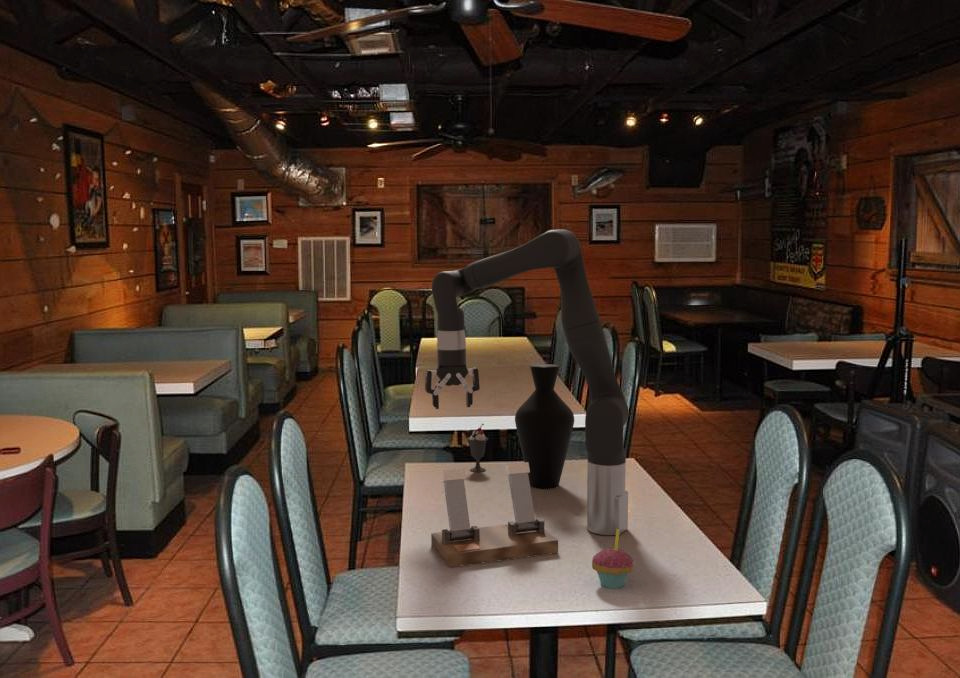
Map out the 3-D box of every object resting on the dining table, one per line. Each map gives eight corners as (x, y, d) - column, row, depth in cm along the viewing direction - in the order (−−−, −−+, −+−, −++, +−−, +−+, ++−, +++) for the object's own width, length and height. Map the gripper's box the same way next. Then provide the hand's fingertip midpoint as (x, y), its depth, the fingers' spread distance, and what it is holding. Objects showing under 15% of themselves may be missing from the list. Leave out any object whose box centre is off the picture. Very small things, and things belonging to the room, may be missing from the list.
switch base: (534, 532, 202) (534, 510, 202) (558, 552, 189) (558, 528, 188) (431, 545, 194) (431, 522, 193) (448, 567, 181) (448, 542, 180)
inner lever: (535, 530, 195) (524, 464, 200) (539, 529, 193) (528, 462, 198) (514, 533, 193) (504, 465, 198) (518, 532, 191) (507, 464, 196)
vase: (506, 479, 248) (506, 363, 244) (560, 474, 253) (560, 360, 249) (527, 496, 231) (527, 372, 227) (583, 490, 236) (584, 369, 232)
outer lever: (470, 539, 190) (461, 470, 195) (473, 537, 188) (464, 468, 192) (449, 541, 188) (440, 472, 193) (451, 540, 186) (442, 470, 191)
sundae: (488, 473, 255) (488, 425, 253) (466, 473, 255) (466, 425, 253) (488, 467, 261) (488, 420, 260) (467, 467, 262) (467, 420, 260)
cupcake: (605, 572, 178) (606, 518, 176) (641, 582, 172) (642, 526, 171) (583, 585, 171) (584, 529, 170) (620, 596, 166) (621, 538, 164)
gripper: (427, 349, 213) (428, 412, 215) (481, 347, 216) (482, 408, 218) (422, 346, 220) (423, 406, 222) (474, 344, 224) (475, 403, 225)
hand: (452, 407), depth 220 cm, fingers open, 8 cm apart
